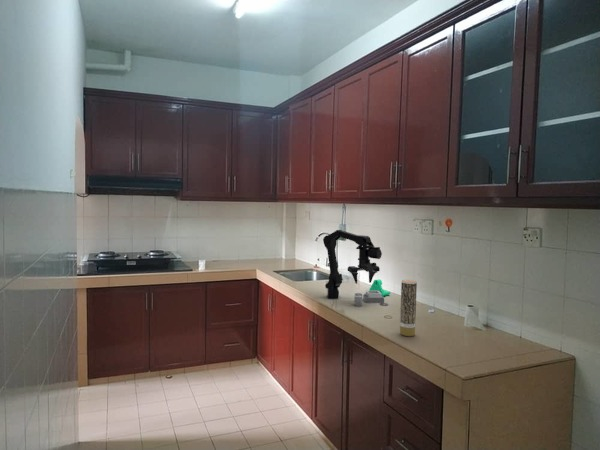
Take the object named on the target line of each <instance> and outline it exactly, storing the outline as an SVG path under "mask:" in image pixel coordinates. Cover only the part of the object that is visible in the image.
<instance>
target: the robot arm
mask: <svg viewBox="0 0 600 450" xmlns="http://www.w3.org/2000/svg"><path fill="white" fill-rule="evenodd" d="M341 238H342V239H346V240H349V241H351V242H354V243H355V244H356V245H358V246H356V248H355V250H359V251H358V258H357V260H358V264H357V266H351V265H350V266H349V265H348V267H347V272H348V273H350V274H351V276H352V277H353V280H354V283H355V284H356V285H357V284H358V275H359V271H365V272H366V273H368V282H369V283H372V280H373V278H374V276H375V274H376V273H378V272H380V266H378V265H377V263H376V262H371V259H374V260H380V259H381V258H382V255H383V252H382V250H381V247H379V246H375V245H374V243H373V242H372V240H371V237H370V236H369V235H364V234H363V235H362V234H361V235H360V234H355V233H352V232H349V231H345V230H343V229H336V230H335V231H333V232H331V233H330V234H328V235H325V236H324V237H323V239H322V240H323V241H322V242H323V244H324V247H325V248H326V251H327V257H328V264H329V274H328V275H329V276H328V282H326V284H325V285H324V286H325V288H326V289H327V290H326V291H327V293H326V298H327V299H332V300H333V299H339V297H340V295H339V294H340V291H339V288H340V286H341V285H342V283H343V280H344V279H343V274H342V273H340V272H339V269H338V262H337V253H336V247H337V242H338V240H339V239H341Z"/></svg>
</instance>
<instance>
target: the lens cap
mask: <svg viewBox="0 0 600 450" xmlns="http://www.w3.org/2000/svg"><path fill="white" fill-rule="evenodd" d="M379 305H380V306H381V307H388V306H389V303H386V302H384V303H379Z"/></svg>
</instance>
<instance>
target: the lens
mask: <svg viewBox="0 0 600 450" xmlns="http://www.w3.org/2000/svg"><path fill="white" fill-rule="evenodd" d="M353 296H354V307H357V308H362V307H363V293H360V292H357V293H354V295H353Z"/></svg>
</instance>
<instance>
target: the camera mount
mask: <svg viewBox="0 0 600 450" xmlns="http://www.w3.org/2000/svg"><path fill="white" fill-rule="evenodd" d="M382 281H383V280H381V279H374V280H373V282H372V284H371V286H370V288H369V289H368V291H379V292H380V293H382V296H383V297H384V296H390V295H391V291H388V290H385V289H384V288H383V287H382V285H383V282H382Z"/></svg>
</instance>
